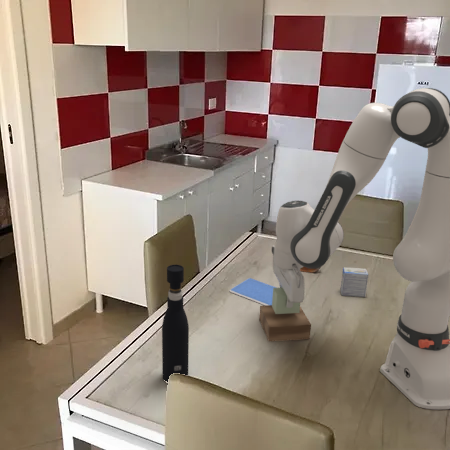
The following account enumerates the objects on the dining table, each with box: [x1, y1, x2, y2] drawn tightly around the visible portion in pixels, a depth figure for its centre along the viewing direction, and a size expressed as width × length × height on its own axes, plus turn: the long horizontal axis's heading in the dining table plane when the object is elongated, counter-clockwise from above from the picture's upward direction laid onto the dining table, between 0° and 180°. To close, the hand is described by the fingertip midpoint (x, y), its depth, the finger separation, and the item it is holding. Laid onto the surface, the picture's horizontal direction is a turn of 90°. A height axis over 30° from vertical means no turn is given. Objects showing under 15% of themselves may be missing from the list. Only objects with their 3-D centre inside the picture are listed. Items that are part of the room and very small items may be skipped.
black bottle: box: [161, 264, 190, 382], centre depth 124 cm, size 6×6×30 cm
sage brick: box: [272, 287, 301, 314], centre depth 148 cm, size 4×7×6 cm, turn 99°
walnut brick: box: [258, 305, 312, 342], centre depth 151 cm, size 12×12×5 cm
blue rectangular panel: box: [229, 277, 278, 306], centre depth 171 cm, size 19×13×1 cm, turn 53°
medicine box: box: [340, 266, 369, 298], centre depth 172 cm, size 8×4×9 cm, turn 84°
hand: (286, 301), depth 148 cm, fingers closed on sage brick, 4 cm apart
